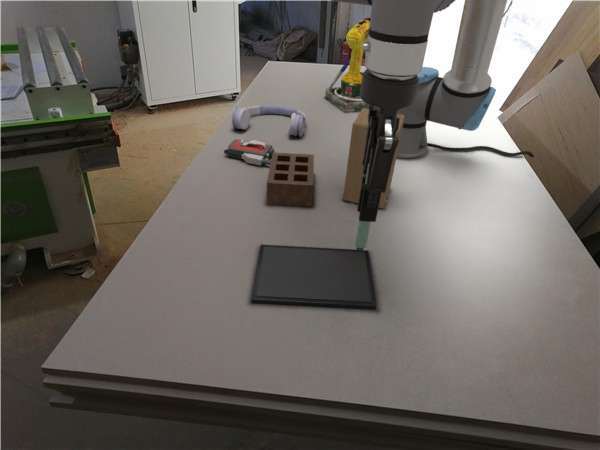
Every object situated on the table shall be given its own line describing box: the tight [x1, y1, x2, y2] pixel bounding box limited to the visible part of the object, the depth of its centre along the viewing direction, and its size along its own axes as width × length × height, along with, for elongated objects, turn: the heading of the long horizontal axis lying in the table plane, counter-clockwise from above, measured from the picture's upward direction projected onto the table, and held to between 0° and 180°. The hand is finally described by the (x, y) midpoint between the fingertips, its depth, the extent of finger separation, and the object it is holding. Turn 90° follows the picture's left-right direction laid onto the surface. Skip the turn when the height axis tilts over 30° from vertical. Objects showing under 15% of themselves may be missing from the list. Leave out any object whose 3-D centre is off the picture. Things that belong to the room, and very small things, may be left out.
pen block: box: [266, 151, 315, 208], centre depth 100 cm, size 11×15×6 cm
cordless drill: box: [324, 16, 371, 111], centre depth 145 cm, size 18×19×28 cm
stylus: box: [354, 164, 372, 251], centre depth 67 cm, size 2×2×17 cm
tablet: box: [250, 244, 377, 310], centre depth 77 cm, size 22×15×1 cm
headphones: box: [231, 104, 307, 138], centre depth 131 cm, size 22×7×20 cm
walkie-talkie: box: [223, 138, 275, 167], centre depth 112 cm, size 9×4×20 cm
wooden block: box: [342, 108, 405, 209], centre depth 95 cm, size 10×10×20 cm
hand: (366, 215), depth 68 cm, fingers closed on stylus, 2 cm apart
